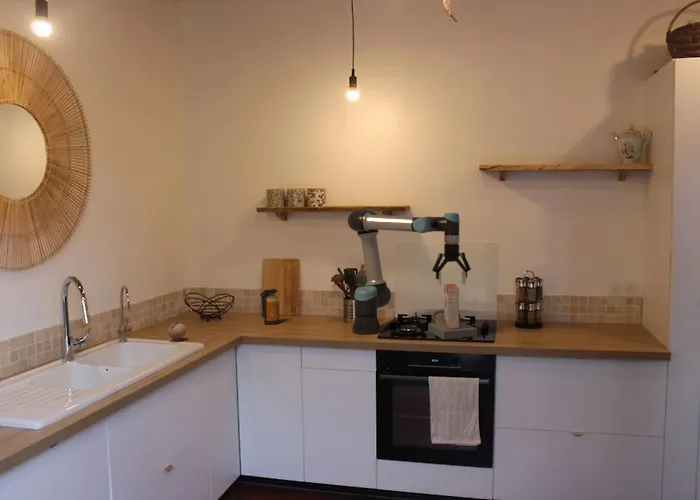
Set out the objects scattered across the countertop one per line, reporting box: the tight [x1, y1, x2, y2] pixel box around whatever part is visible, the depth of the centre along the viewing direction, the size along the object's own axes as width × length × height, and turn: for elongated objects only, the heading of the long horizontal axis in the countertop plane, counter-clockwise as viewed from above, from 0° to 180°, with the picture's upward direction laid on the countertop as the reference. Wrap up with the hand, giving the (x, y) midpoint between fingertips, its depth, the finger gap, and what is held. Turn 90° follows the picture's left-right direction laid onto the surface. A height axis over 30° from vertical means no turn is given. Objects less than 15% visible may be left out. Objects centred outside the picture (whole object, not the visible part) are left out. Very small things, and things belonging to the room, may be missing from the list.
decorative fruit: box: [167, 321, 187, 341], centre depth 295 cm, size 9×8×10 cm
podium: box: [427, 320, 478, 340], centre depth 300 cm, size 18×20×4 cm
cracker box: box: [443, 283, 460, 329], centre depth 299 cm, size 14×6×21 cm, turn 178°
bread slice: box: [432, 309, 462, 323], centre depth 321 cm, size 15×3×8 cm, turn 84°
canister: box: [260, 288, 281, 325], centre depth 334 cm, size 9×11×20 cm
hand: (451, 285), depth 298 cm, fingers open, 13 cm apart
